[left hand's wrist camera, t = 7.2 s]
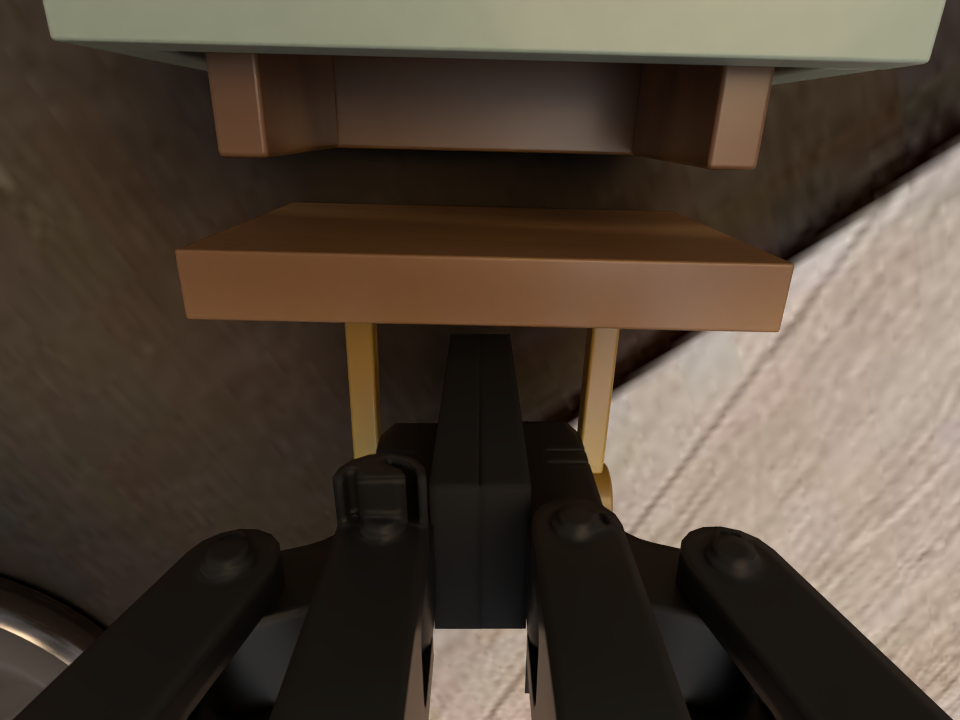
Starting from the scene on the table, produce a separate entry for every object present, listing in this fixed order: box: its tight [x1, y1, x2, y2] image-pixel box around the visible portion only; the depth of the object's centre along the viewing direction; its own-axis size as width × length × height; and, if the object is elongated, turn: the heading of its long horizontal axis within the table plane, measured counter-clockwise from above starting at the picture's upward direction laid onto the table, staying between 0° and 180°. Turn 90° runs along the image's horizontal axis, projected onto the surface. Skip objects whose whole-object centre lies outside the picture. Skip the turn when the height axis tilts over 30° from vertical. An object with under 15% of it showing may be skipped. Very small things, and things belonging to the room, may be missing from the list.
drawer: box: [175, 52, 794, 511], centre depth 11 cm, size 23×10×6 cm, turn 179°
